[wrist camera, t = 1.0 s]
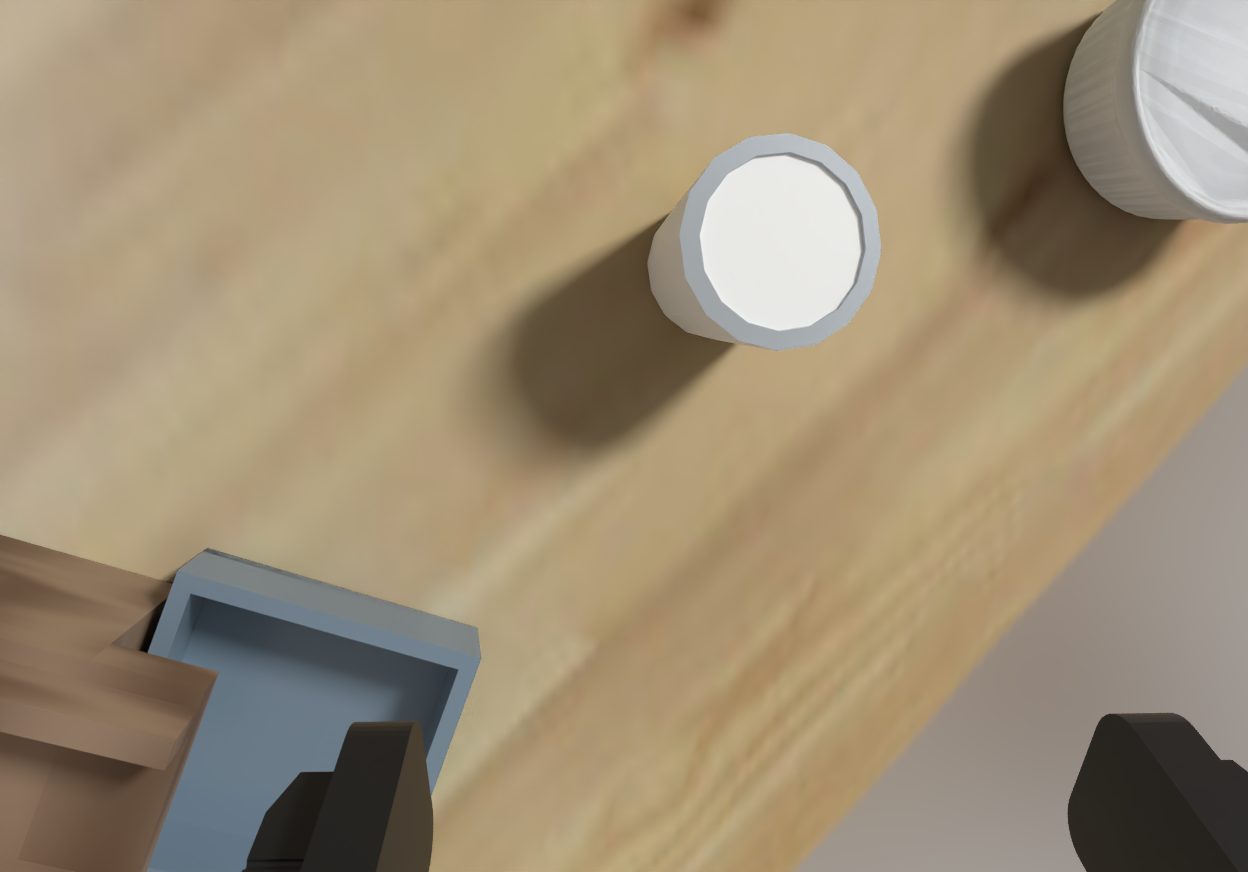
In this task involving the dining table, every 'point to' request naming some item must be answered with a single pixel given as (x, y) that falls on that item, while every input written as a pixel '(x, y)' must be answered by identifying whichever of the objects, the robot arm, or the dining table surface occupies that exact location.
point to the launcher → (87, 714)
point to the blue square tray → (292, 692)
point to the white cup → (768, 246)
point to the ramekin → (1164, 108)
